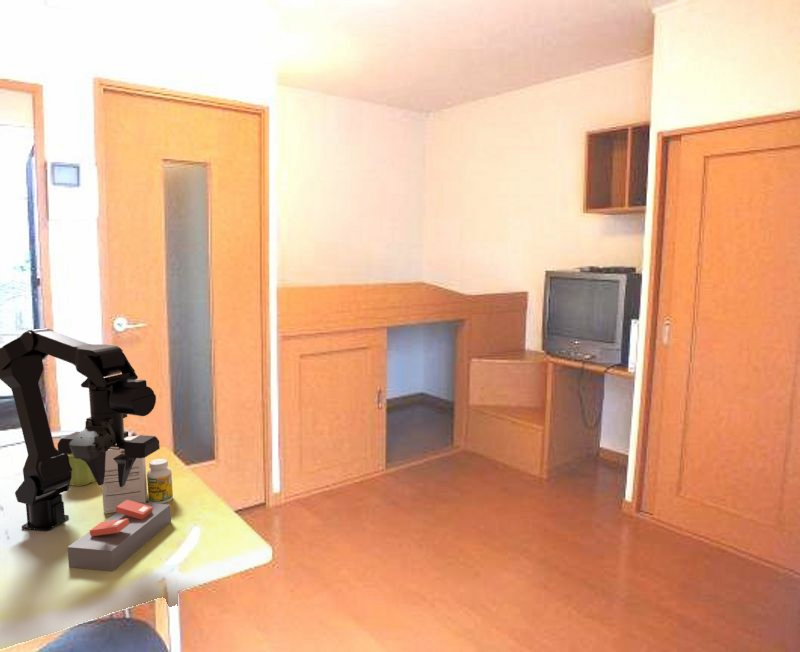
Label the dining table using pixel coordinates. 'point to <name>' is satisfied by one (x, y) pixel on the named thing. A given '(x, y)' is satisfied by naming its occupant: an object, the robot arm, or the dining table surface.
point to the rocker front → (109, 527)
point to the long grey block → (118, 540)
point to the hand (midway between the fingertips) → (111, 485)
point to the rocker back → (134, 509)
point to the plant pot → (80, 472)
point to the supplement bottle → (159, 482)
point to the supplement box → (133, 487)
